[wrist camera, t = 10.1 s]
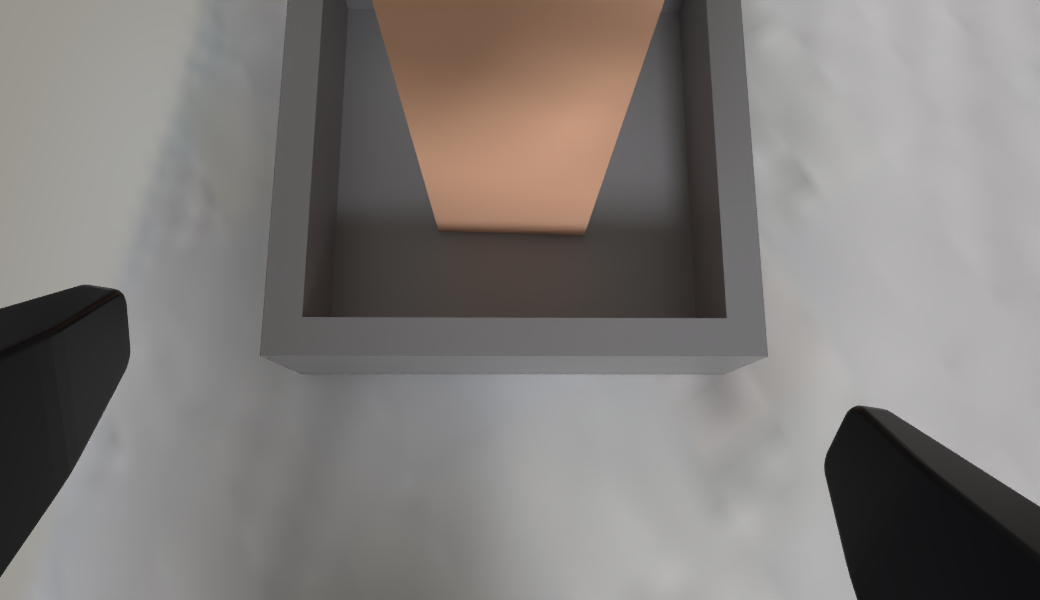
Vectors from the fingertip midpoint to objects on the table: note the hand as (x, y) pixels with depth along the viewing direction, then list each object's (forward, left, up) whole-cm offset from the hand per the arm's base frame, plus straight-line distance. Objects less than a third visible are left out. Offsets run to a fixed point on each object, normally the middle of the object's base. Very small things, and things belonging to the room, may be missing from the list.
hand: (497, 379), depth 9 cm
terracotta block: (+8, 0, -12) cm, 15 cm away
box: (+8, 0, -13) cm, 16 cm away
